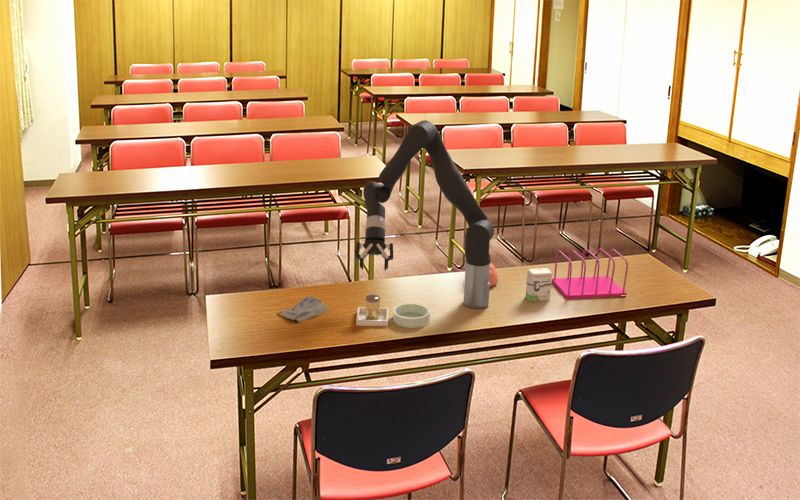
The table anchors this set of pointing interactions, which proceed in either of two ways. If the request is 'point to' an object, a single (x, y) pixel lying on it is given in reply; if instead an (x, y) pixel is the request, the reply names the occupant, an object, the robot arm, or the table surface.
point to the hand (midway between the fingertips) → (373, 269)
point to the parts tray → (363, 322)
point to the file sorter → (589, 280)
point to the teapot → (493, 275)
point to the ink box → (538, 284)
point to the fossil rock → (305, 310)
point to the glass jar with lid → (372, 307)
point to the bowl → (411, 315)
